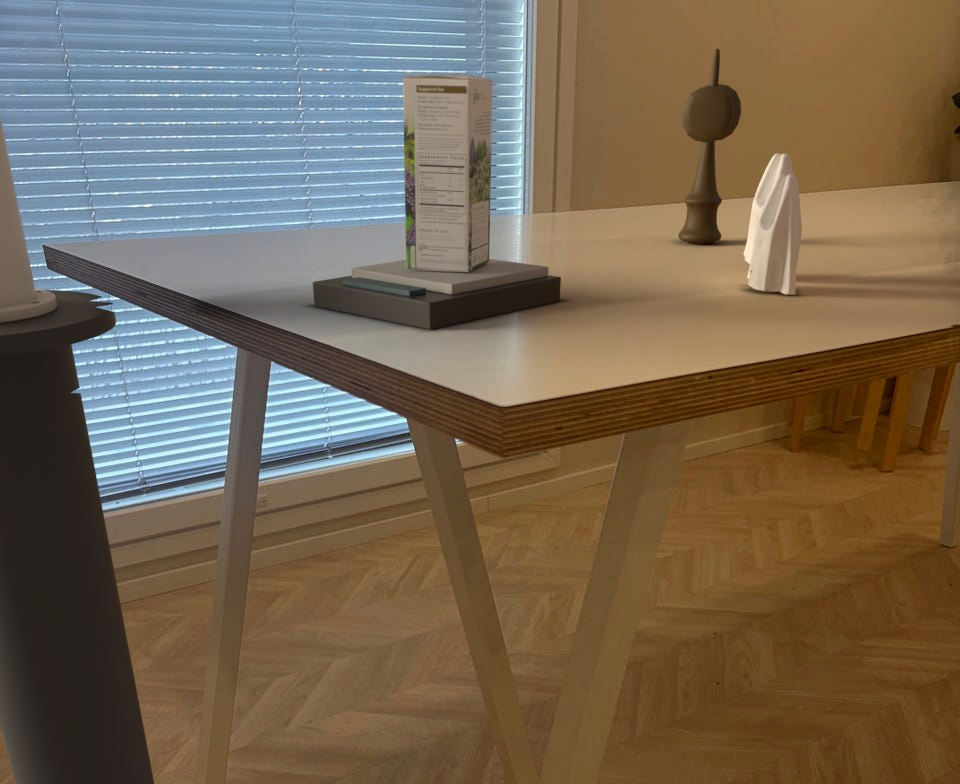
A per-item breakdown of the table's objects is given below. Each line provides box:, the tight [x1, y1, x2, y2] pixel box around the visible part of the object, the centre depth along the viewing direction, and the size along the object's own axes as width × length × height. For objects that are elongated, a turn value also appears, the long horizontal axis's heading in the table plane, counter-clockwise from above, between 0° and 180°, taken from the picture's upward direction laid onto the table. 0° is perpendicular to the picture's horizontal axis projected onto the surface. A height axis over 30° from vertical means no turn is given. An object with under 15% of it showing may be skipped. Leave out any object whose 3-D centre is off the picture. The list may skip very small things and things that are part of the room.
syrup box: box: [402, 74, 493, 272], centre depth 85 cm, size 6×6×14 cm
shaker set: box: [743, 152, 803, 296], centre depth 94 cm, size 12×4×11 cm, turn 171°
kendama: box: [677, 48, 742, 244], centre depth 117 cm, size 6×10×20 cm, turn 163°
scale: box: [312, 258, 562, 330], centre depth 88 cm, size 16×14×3 cm
